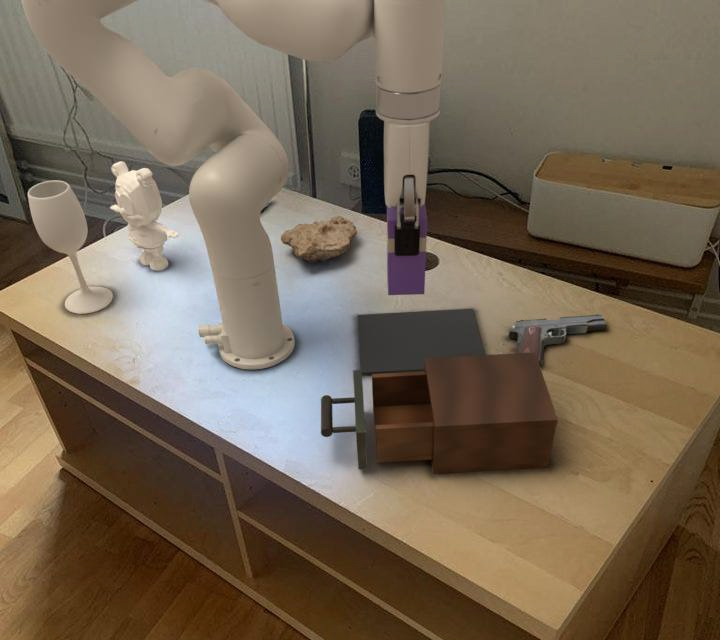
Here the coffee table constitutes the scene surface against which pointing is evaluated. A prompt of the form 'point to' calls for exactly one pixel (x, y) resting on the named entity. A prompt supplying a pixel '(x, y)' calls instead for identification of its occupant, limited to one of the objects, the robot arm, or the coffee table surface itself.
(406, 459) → the drawer
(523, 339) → the handgun
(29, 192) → the wineglass
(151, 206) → the white cartoon figurine
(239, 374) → the coffee table surface
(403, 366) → the mat
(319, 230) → the rock
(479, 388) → the cabinet
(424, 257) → the snack box
